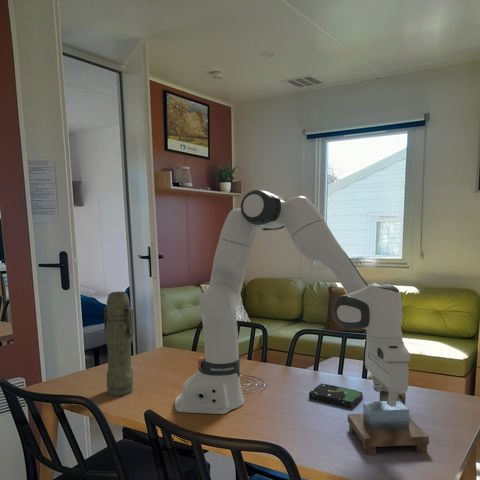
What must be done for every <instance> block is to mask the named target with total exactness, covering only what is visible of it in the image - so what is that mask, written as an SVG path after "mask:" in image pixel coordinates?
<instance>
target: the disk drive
mask: <svg viewBox="0 0 480 480" xmlns="http://www.w3.org/2000/svg"><path fill="white" fill-rule="evenodd" d="M363 398H364V396H363V391H360V390H356V389H350V388H348V387H347V388H346V387H343V386H337V385H331V384H327V383H323V382H321V383H319V385H317V386H316V387H314V388H313V390H310V391H309V392H308V399H309V400H312V401H315V402H320V403H325V404H330V405H333V406H338V407H342V408H346V409H350V410H353V409H354V408H355V407H356V406H357V405H358V403H360V402H361V401H362V400H363Z"/></svg>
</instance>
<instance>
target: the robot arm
mask: <svg viewBox="0 0 480 480" xmlns="http://www.w3.org/2000/svg"><path fill="white" fill-rule="evenodd" d="M223 223H224V224H223V225H222V228H221V230H220V234H219V238H218V242H217V245H216V249H215V253H214V257H213V261H212V262H213V263H212V268H211V275H210V281H209V284H208V287H207V288H206V289H205V290H204V291H203V293H202V295H201V296H200V301H199V302H200V305H199V307H200V311H201V312H200V313H201V314H200V316H201V321H202V322H201V323H202V328H203V338H204V341H203V342H204V345H203V346H204V357H202V356H200V357H198V359H197V363H198V370H197V371H196V372H195V373H194V374H193V375H191V376H190V377H188V378H187V379H186V380H185V382H184V383H183V386H182V389H181V393H179V394H178V395H177V396H176V398H175V401H174V409H175V410H176V412H179V413H191V414H192V413H193V414H213V415H216V414H217V415H225V414H227V413H228V412H230V411H232V410H236V409H238V408H241V406H243V405H244V403H245V398H244V395H243V391H242V386H241V379H240V376H241V370H242V368H241V358H240V357H239V355H240V354H239V332H238V322H237V321H238V319H237V306H238V304H239V300H240V297H241V294H242V290H243V284H244V281H245V276H246V272H247V268H248V264H249V260H250V257H251V253H252V248H253V246H254V241H255V237H256V235H257V233H258V232H259V231H260V230H262V231H277V230H281V229H284V228H285V230H286V231H287V233H288V234H289V237H290V239H291V241H292V242H293V244H294V246H295V248H296V249H297V251H298V252H299V253H300V255H302V256H303V258H305V259H308V260H309V261H312V262H314V263H317V264H321V265H323V266H325V267H326V268H327V269H329V270H330V271H331V272H332V273H333V274H334V276H335V277H336V279H337V280H338V281H339V283H340V285H341V287H342V288H343V289H344V290H345V292H346V293H345V294H343V295H340V296H339V297H337V298H335V299H334V300H333V303H332V304H331V305H332V306H331V314H332V317H333V320H334V321H335V323H336V324H337V325H338V326H339V327H341V328H343V329H346V330H361V329H365V331H366V346H365V356H364V365H365V368H366V370H367V371H368V372H369V373H370V374H371V380H372V385H373V386H372V389H373V390H374V391H375V392H376V393H378V392H379V393H380V392H381V391H382V389H381V388H382V385H381V383H382V384H383V385H384V386H385V387H386V388H387V389H388V393H389V396H388V397H387V404H388V405H389V406H396V399H397V397H398V394H405V395H406V393H407V391H408V390H409V389H408V388H409V375H410V374H409V373H410V371H409V364H408V362H410V361H411V354H410V353H411V352H409V350H408V349H407V347H406V346H405V343H404V341H403V331H402V322H403V301H402V295H401V292H400V289H398V287H396V286H394V285H392V284H389V283H385V282H377V281H376V282H375V281H374V282H371V283H369V284H368V283H367V282H366V281H365V278H363V276H362V275H361V274H360V272H359V270H358V269H357V267H356V266H355V264H354V263H353V261H352V260H351V259H350V257H349V255H348V254H347V253H346V252H345V250H344V249H343V247H342V246H341V245H340V244H339V242H338V240H337V239H336V237H335V235H334V234H333V233H332V231H331V229H330V228H329V226H328V224H327V222H326V221H325V219H324V217H323V216H322V214H321V213H320V211H319V210H318V208H317V207H316V206H315V205H314V203H313V202H312V201H311V200H310V199H309V198H308V197H307V196H304V195H298V196H293V197H291V198H289V199H288V200H287V199H286V198H284V197H281V196H280V195H278V194H277V193H273V192H269V191H266V190H264V189H254V190H251V191H249V192H247V193H246V194H245V195H244V196H243V197H242V199H241V202H240V207H238V208H234V209H231V210H230V211H229V212H228V214H227V216H226V219H225V221H224V222H223ZM380 382H381V383H380Z"/></svg>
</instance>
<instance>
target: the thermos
mask: <svg viewBox="0 0 480 480" xmlns="http://www.w3.org/2000/svg"><path fill="white" fill-rule="evenodd" d="M103 320H104V333H105V344H106V346H107V372H106V387H107V395H108V396H110V397H114V398H116V397H117V398H118V397H123V396H124V397H125V396H127V395H130V394H132V393H133V391H134V389H133V384H134V371H133V369H132V345H131V344H132V343H133V337H134V309H133V307H132V306H130V299H129V296H128V293H127V292H126V291H112V292H110V293H108V296H107V300H106V305H105V307H104V309H103Z"/></svg>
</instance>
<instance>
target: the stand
mask: <svg viewBox="0 0 480 480" xmlns="http://www.w3.org/2000/svg"><path fill="white" fill-rule="evenodd" d="M347 422H348V423H349V425H348V429H349V431H350V432H351V433H352V434H356V436H357V438H359V440H360V441H361V443H362V450H363V452H364V454H365V455H377V454H376V450H377V449H376V447H379V448H380V447H398V446H399V447H401V446H402V447H403V446H404V447H405V446H412V447H413V450H415V451H416V452H417V453H428V446H429V445H430V436H429V435H428V433H426V432H425V431H424V430H423V429H422V428H421V427H420V426H419V425H418V424H417V423H416V422H415V421H414V420H413V419H412V418H411V417H410V416H409V429H389V430H370V428H369V427H368V426H367V424H366V423H365V422H364V421H363V413H348V414H347Z"/></svg>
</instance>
